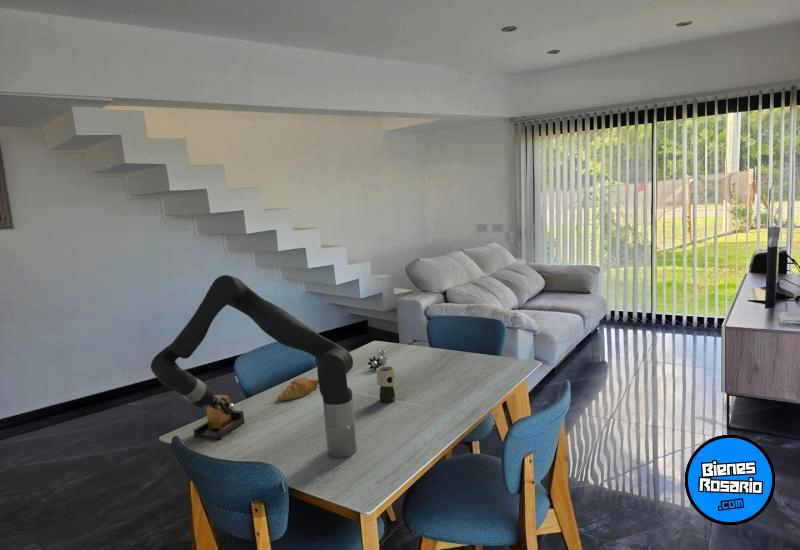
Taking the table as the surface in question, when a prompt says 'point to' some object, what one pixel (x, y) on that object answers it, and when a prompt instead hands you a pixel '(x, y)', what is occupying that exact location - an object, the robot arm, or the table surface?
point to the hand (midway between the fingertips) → (222, 411)
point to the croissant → (298, 389)
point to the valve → (378, 360)
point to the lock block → (218, 415)
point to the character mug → (386, 382)
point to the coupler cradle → (218, 434)
